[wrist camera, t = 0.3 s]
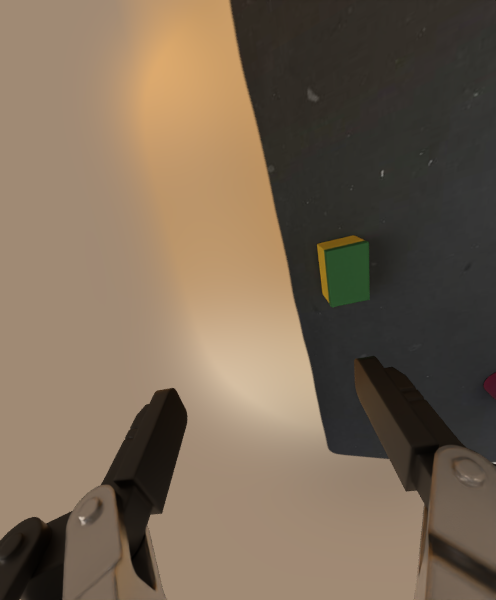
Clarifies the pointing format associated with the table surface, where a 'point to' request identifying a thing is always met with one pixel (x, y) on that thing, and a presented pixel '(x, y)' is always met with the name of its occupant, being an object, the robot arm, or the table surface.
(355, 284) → the sponge
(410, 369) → the table surface
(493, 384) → the cup
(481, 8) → the table surface
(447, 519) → the robot arm
